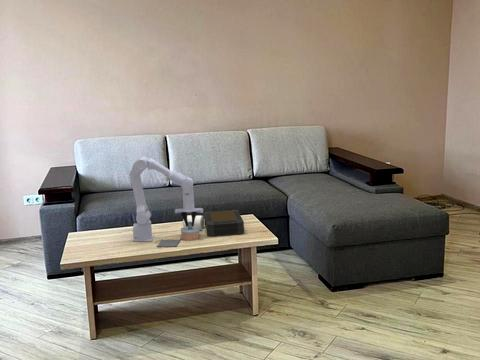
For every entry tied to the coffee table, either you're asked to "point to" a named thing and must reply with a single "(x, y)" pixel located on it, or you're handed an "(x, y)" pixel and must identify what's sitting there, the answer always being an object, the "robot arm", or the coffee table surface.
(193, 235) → the bowl
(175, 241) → the mat
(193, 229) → the lid
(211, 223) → the cash box
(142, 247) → the coffee table surface
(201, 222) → the mug
